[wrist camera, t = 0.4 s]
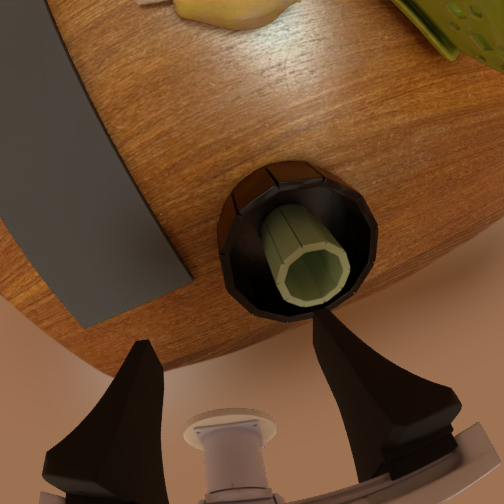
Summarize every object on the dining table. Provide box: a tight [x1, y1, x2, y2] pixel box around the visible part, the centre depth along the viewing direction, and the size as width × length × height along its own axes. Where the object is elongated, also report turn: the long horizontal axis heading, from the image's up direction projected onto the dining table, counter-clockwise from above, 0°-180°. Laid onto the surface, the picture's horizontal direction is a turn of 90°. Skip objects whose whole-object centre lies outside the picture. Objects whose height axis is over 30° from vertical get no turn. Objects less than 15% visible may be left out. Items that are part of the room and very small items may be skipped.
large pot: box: [217, 161, 378, 323], centre depth 21 cm, size 10×10×4 cm
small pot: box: [260, 204, 350, 307], centre depth 20 cm, size 4×4×6 cm
